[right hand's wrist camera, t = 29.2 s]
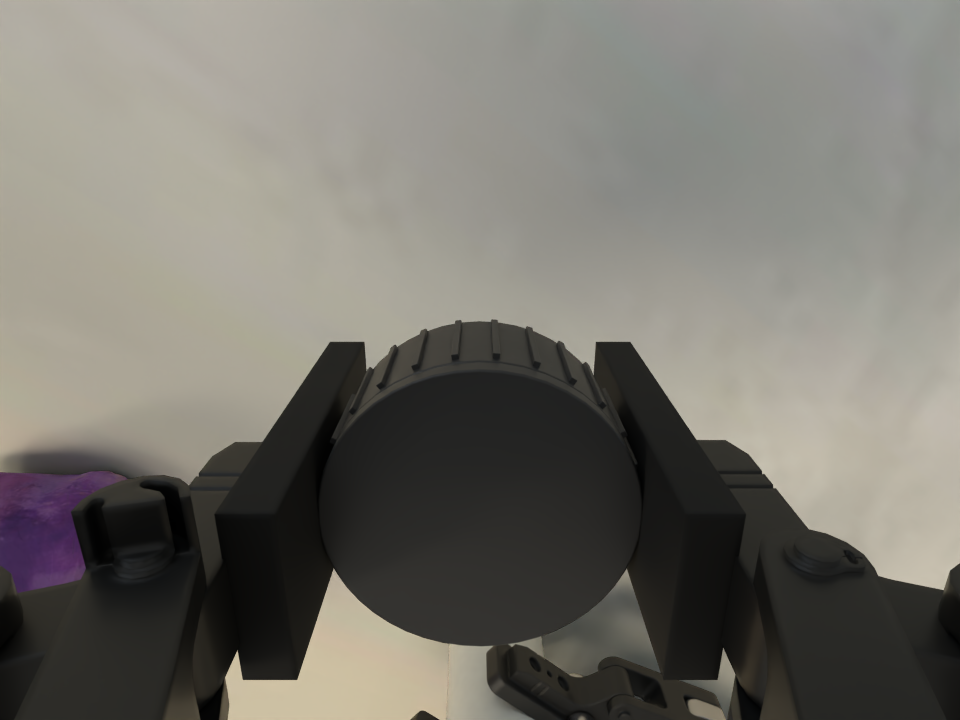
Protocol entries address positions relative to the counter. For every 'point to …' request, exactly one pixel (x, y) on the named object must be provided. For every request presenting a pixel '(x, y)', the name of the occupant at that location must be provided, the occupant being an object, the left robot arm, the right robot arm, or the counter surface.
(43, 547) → the figurine
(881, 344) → the counter surface
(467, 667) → the jar
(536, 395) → the lid
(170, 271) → the counter surface
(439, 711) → the counter surface
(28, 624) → the right robot arm
